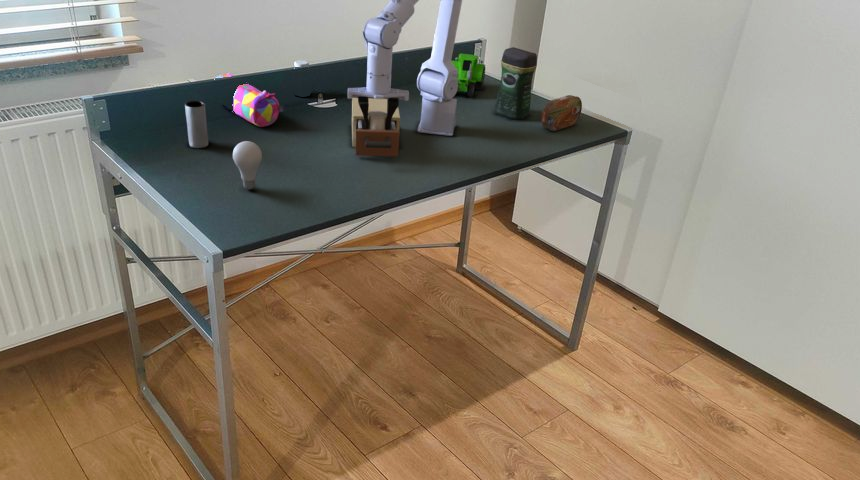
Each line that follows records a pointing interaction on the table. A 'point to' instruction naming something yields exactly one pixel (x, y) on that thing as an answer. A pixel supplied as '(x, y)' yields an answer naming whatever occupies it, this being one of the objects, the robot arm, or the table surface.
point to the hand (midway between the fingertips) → (376, 127)
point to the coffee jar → (516, 83)
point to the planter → (196, 124)
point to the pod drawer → (376, 140)
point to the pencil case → (255, 104)
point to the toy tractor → (469, 73)
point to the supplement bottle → (301, 63)
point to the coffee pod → (377, 120)
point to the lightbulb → (247, 162)
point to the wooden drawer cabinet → (373, 106)
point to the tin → (561, 112)
